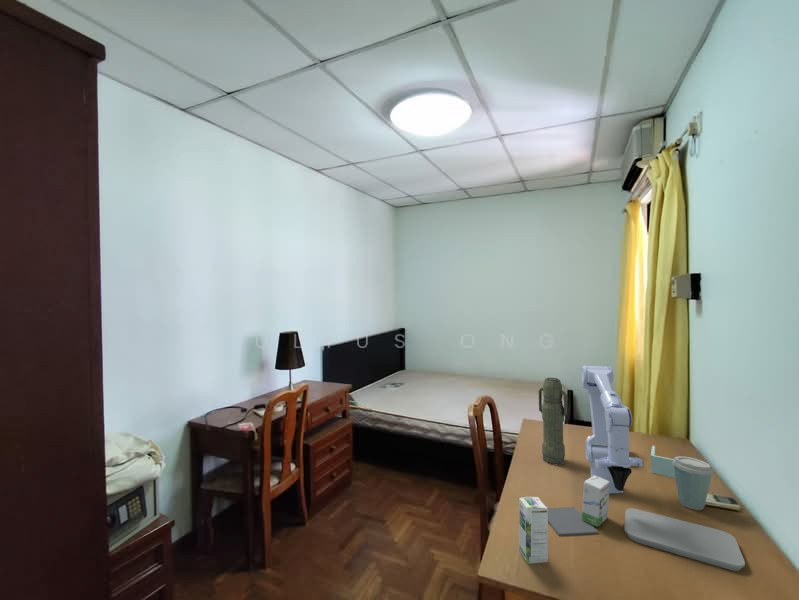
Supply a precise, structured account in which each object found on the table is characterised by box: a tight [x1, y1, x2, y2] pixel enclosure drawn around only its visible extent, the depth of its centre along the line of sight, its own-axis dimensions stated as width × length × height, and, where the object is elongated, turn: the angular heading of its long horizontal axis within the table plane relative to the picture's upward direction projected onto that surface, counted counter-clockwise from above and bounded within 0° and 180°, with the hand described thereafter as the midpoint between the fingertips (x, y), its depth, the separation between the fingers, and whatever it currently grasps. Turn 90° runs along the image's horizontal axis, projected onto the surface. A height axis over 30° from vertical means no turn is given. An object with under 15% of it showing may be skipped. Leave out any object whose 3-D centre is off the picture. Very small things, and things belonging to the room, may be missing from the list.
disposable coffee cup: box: [672, 455, 714, 511], centre depth 121 cm, size 11×11×15 cm
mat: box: [547, 506, 599, 537], centre depth 113 cm, size 12×13×1 cm
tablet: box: [624, 507, 746, 572], centre depth 104 cm, size 16×26×2 cm, turn 57°
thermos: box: [538, 377, 569, 466], centre depth 156 cm, size 9×12×35 cm
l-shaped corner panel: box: [650, 445, 675, 479], centre depth 145 cm, size 12×12×8 cm
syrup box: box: [518, 496, 549, 565], centre depth 98 cm, size 6×6×14 cm
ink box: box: [581, 475, 610, 528], centre depth 114 cm, size 8×5×12 cm, turn 132°
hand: (619, 489), depth 114 cm, fingers closed
